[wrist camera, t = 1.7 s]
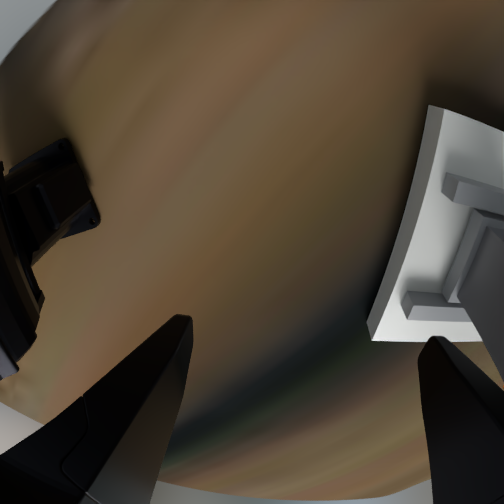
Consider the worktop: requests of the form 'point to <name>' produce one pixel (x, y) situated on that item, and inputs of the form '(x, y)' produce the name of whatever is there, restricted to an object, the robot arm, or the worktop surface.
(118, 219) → the worktop surface
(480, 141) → the white rail base plate
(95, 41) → the worktop surface
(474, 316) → the breaker handle
